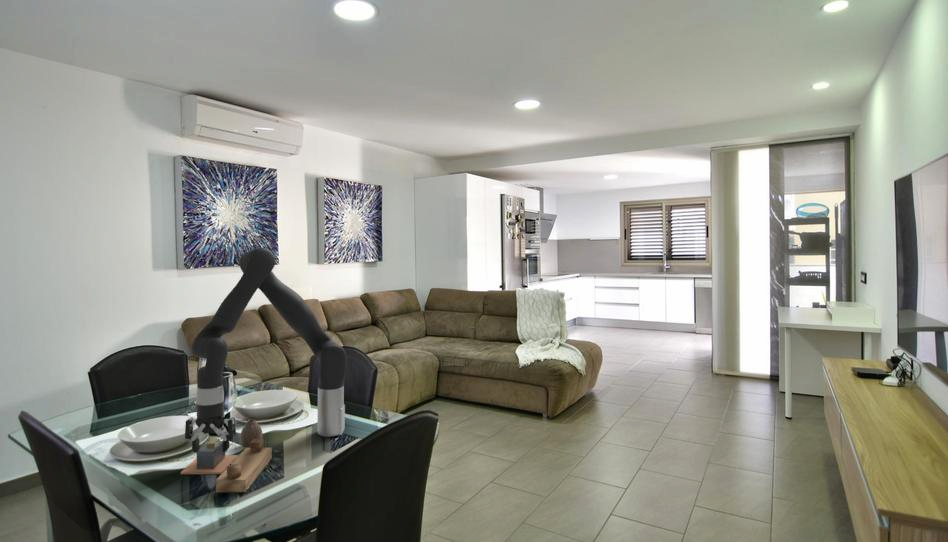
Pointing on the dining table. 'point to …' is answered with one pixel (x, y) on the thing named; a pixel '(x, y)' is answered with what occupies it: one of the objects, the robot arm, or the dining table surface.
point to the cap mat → (217, 470)
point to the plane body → (244, 468)
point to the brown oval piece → (250, 433)
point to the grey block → (210, 454)
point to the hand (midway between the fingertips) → (210, 451)
